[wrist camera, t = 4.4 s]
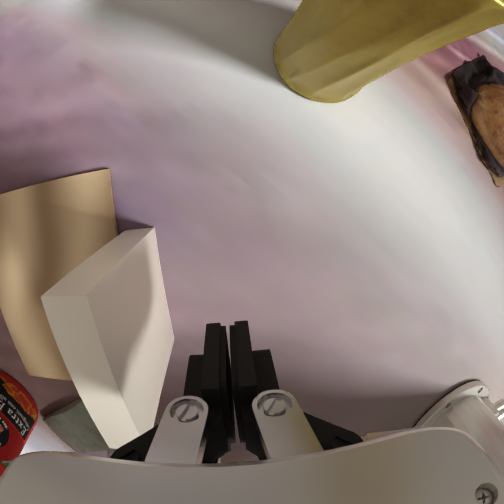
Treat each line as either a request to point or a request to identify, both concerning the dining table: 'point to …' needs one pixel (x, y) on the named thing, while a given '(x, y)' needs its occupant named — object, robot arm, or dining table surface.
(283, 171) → the dining table surface
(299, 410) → the robot arm
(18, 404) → the canned food
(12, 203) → the mat
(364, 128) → the dining table surface
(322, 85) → the vase
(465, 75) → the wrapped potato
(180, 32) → the dining table surface
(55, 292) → the tile
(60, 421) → the stone slab
